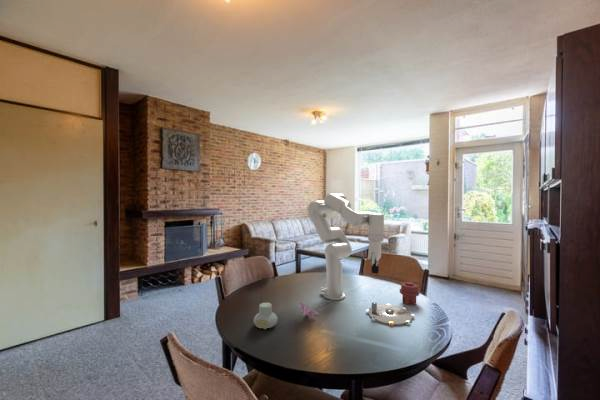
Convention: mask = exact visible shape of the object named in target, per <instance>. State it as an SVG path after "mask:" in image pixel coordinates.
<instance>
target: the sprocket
mask: <svg viewBox="0 0 600 400" xmlns="http://www.w3.org/2000/svg"><path fill="white" fill-rule="evenodd" d="M365 311H366V313H365V314H366V315H368V316H369V317H370V318H371V321H373V322H378V323H380V324H384V325H388V326H389V327H394V326H403V325H407V326H410V325H411V322H412V320H414V319H415V314H414V313H411V311H409V310H408V309H407V307H404V306H398V305H394V304H391V303H385V304H384V303H382V304H377V302H374V301H373V302H371V306H370V308H368V309H366V310H365Z"/></svg>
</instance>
